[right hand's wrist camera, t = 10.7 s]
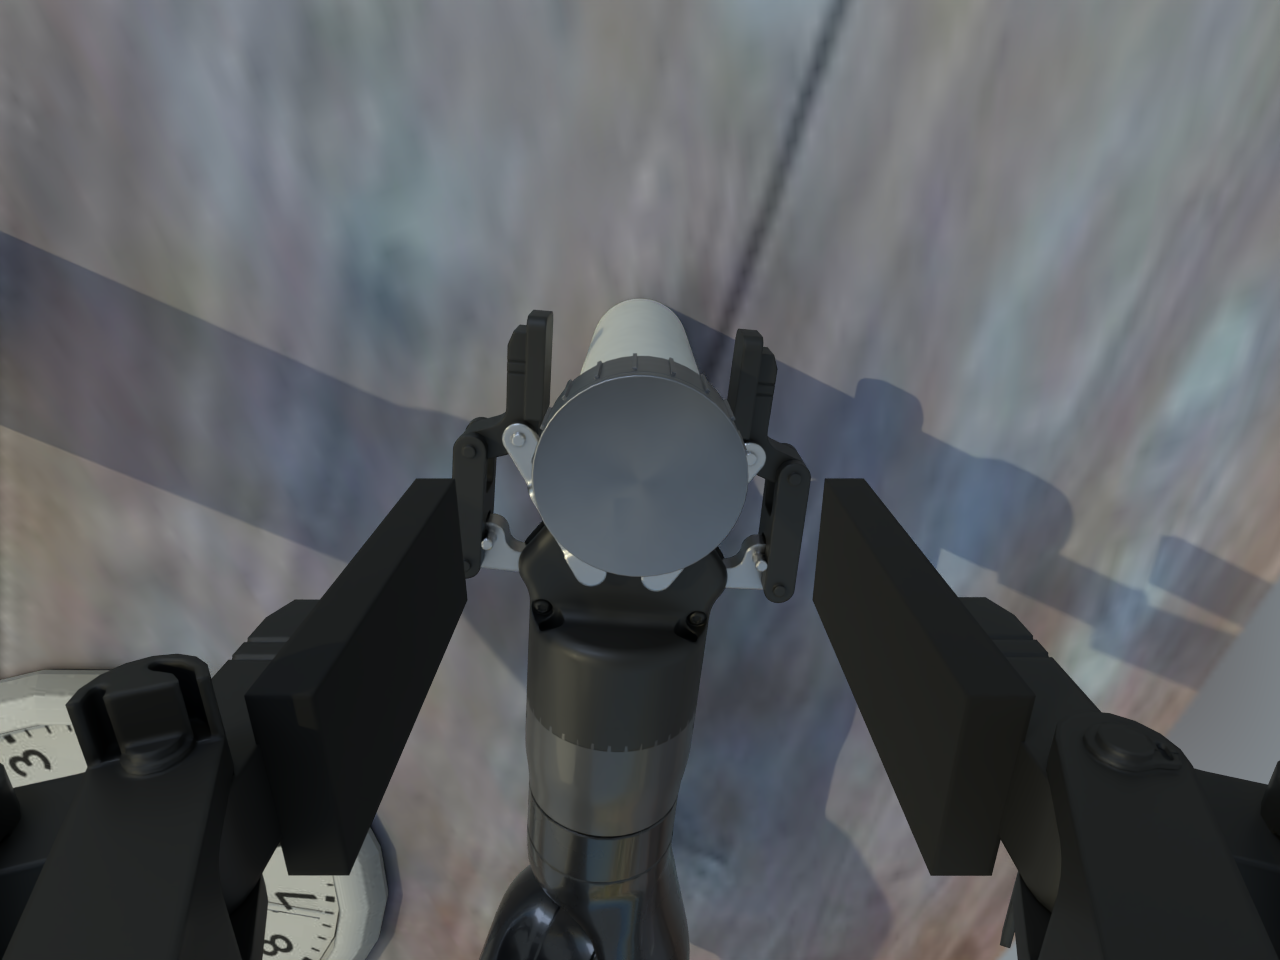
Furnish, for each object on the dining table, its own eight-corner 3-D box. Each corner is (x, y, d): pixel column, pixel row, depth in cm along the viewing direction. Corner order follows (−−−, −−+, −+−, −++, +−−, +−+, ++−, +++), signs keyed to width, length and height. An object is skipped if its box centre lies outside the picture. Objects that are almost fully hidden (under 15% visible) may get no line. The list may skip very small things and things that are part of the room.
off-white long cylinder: (618, 280, 32) (599, 357, 17) (704, 326, 33) (760, 439, 17) (576, 366, 33) (523, 510, 18) (659, 408, 34) (675, 579, 19)
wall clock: (464, 985, 46) (82, 1092, 50) (470, 960, 48) (98, 1066, 52) (192, 612, 36) (-259, 785, 40) (210, 596, 38) (-226, 764, 42)
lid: (593, 316, 18) (587, 331, 16) (777, 411, 19) (793, 437, 17) (508, 490, 20) (493, 524, 18) (680, 569, 21) (685, 611, 19)
